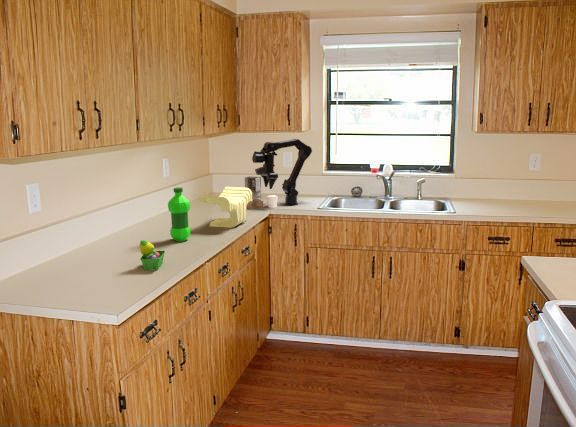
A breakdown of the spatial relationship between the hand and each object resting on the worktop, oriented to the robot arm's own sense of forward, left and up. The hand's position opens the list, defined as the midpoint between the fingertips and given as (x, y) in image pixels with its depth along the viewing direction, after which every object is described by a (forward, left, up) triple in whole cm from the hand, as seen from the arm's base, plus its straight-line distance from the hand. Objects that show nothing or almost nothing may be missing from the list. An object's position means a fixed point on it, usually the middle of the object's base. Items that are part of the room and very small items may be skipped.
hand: (268, 188), depth 329 cm
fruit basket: (+88, +93, -12) cm, 129 cm away
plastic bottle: (+68, +56, -12) cm, 89 cm away
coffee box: (+2, -22, -12) cm, 25 cm away
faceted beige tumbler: (-2, +1, -12) cm, 12 cm away
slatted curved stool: (+37, +35, -12) cm, 53 cm away
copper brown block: (+9, -4, -12) cm, 15 cm away
